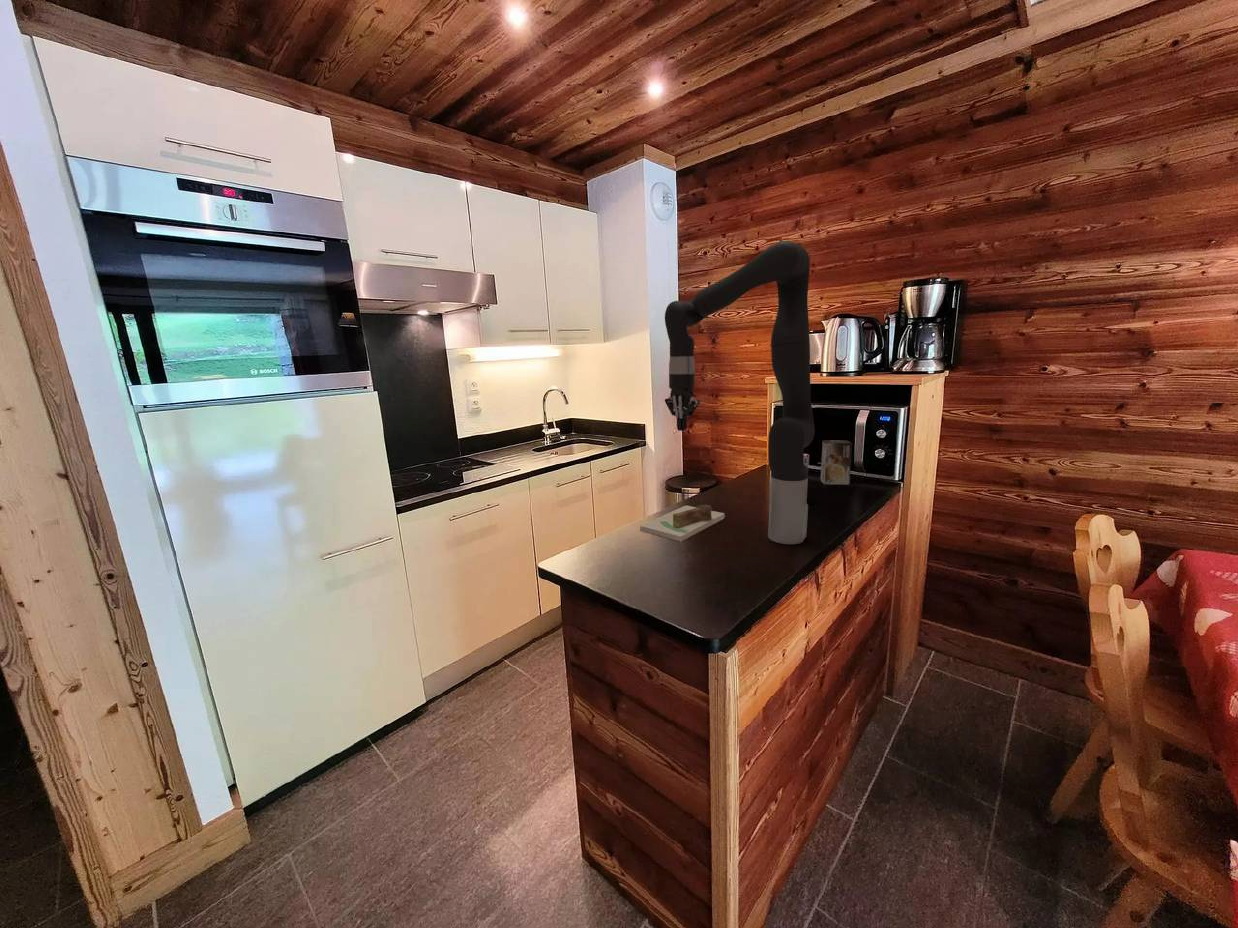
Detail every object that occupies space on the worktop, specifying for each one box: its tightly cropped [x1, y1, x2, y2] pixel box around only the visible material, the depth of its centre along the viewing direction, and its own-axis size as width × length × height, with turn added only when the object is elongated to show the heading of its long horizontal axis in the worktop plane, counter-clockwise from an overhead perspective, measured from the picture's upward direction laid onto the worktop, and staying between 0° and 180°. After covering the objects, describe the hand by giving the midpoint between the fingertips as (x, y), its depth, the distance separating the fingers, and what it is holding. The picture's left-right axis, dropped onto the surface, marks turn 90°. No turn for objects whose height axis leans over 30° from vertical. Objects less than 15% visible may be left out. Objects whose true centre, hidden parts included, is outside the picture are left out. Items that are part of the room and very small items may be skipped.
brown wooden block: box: [673, 504, 712, 527], centre depth 139 cm, size 14×4×4 cm, turn 127°
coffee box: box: [820, 439, 853, 486], centre depth 182 cm, size 9×6×16 cm
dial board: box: [639, 504, 725, 542], centre depth 143 cm, size 24×14×2 cm, turn 139°
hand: (681, 430), depth 145 cm, fingers closed
